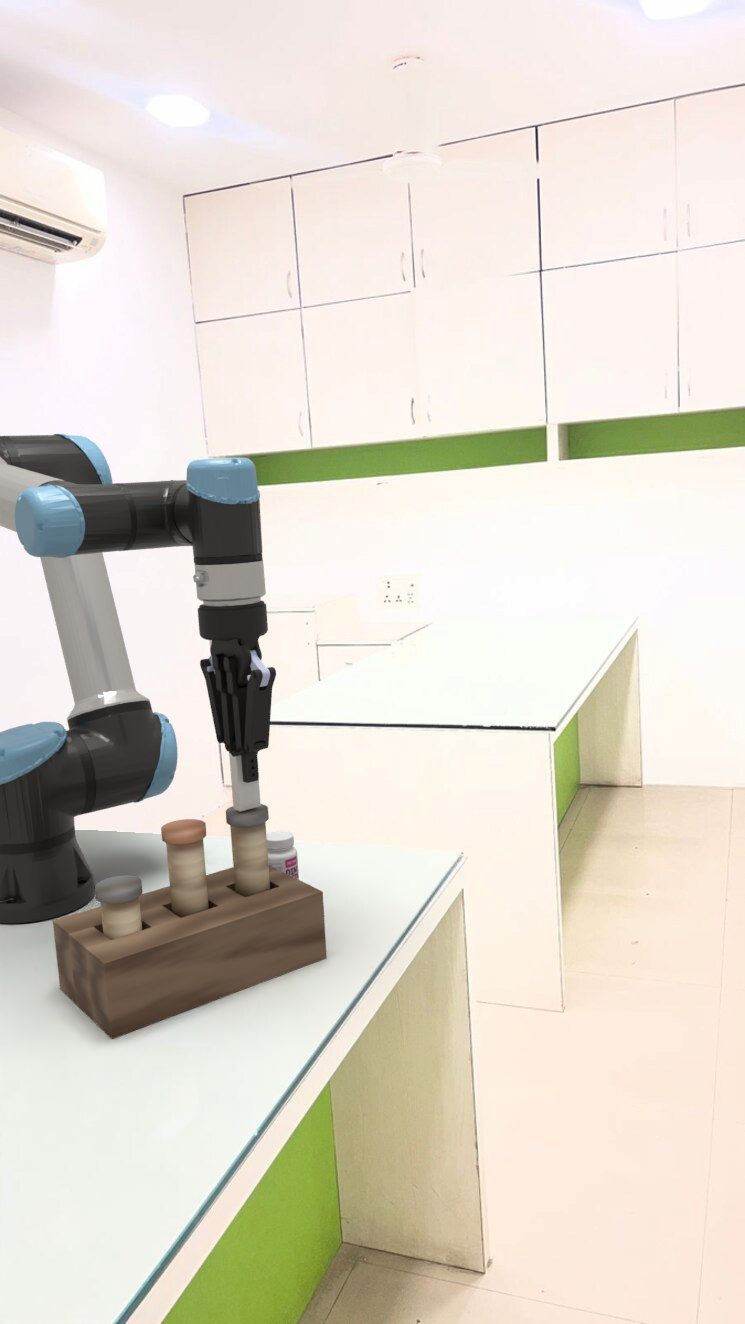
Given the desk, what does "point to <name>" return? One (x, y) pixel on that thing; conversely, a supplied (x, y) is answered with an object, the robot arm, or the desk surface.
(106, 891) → the plug
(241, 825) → the plug
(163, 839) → the plug middle
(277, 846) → the pill bottle
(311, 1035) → the desk surface
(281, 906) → the socket board
